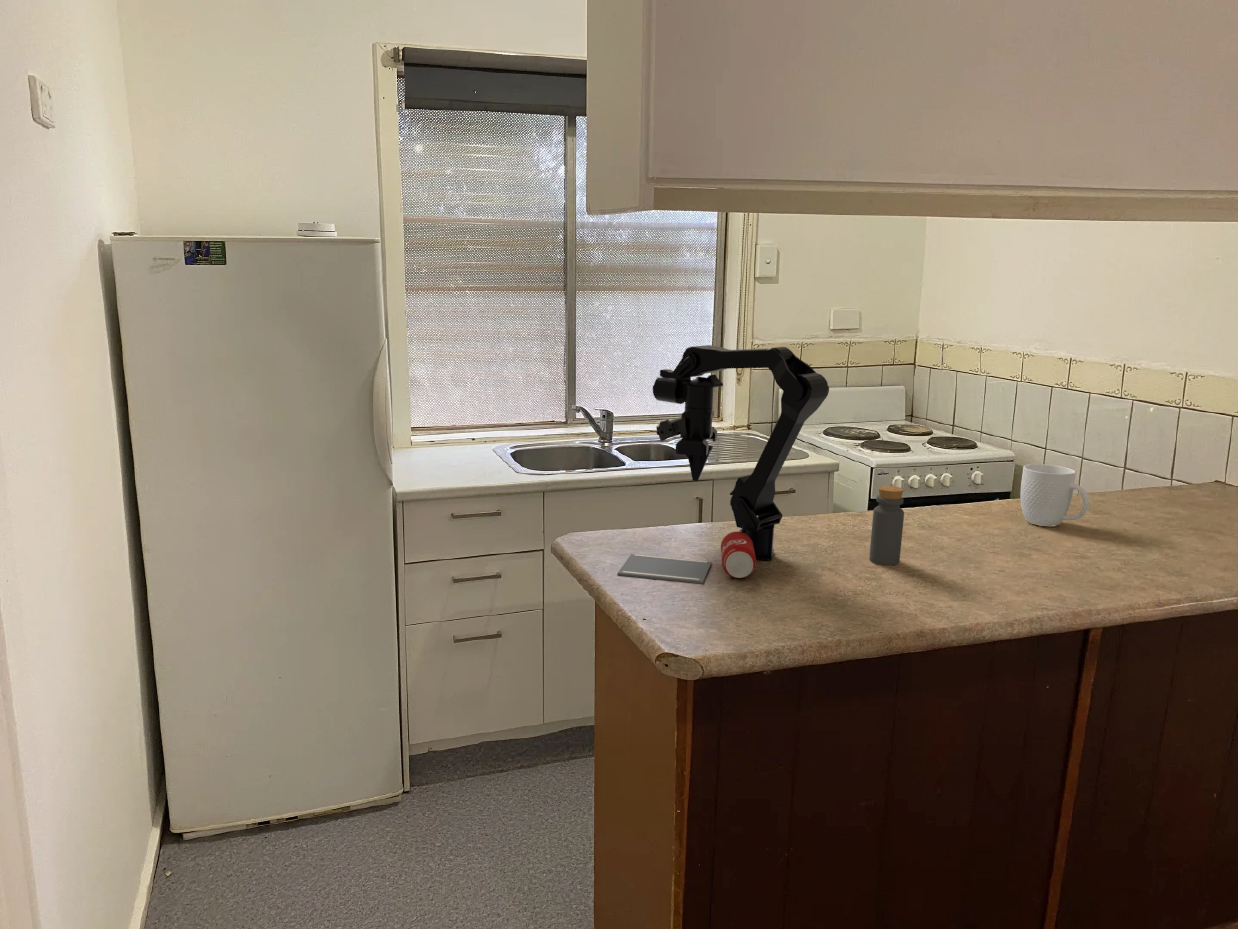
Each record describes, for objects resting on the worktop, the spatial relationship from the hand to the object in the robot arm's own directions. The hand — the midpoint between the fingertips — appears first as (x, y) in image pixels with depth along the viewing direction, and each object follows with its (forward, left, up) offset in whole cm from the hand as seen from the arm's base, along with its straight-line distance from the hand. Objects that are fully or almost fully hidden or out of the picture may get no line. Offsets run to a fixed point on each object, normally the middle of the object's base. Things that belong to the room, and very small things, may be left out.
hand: (695, 480), depth 196 cm
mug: (-77, -36, -13) cm, 86 cm away
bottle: (-39, +4, -13) cm, 41 cm away
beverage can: (-10, +12, -9) cm, 19 cm away
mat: (+2, +22, -12) cm, 25 cm away
